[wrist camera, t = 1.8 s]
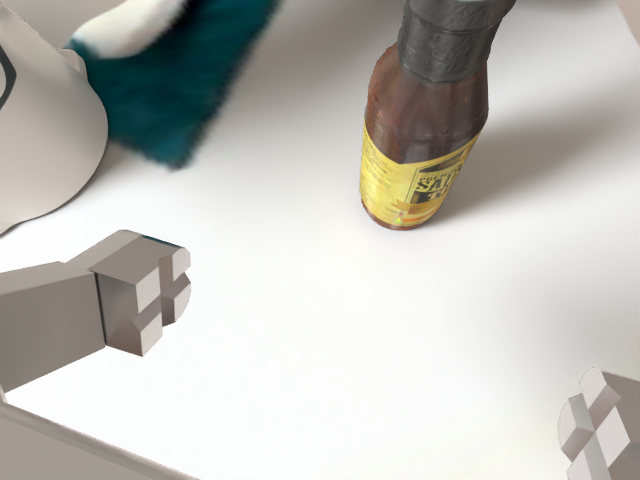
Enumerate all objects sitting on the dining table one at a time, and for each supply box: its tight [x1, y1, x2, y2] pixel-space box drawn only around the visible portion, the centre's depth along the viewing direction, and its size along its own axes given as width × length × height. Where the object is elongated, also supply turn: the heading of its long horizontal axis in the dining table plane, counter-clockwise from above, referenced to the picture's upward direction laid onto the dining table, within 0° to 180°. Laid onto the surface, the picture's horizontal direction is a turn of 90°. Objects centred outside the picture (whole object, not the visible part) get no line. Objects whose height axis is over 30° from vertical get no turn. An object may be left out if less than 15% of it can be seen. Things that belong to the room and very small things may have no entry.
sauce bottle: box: [360, 0, 516, 230], centre depth 23 cm, size 6×6×20 cm
